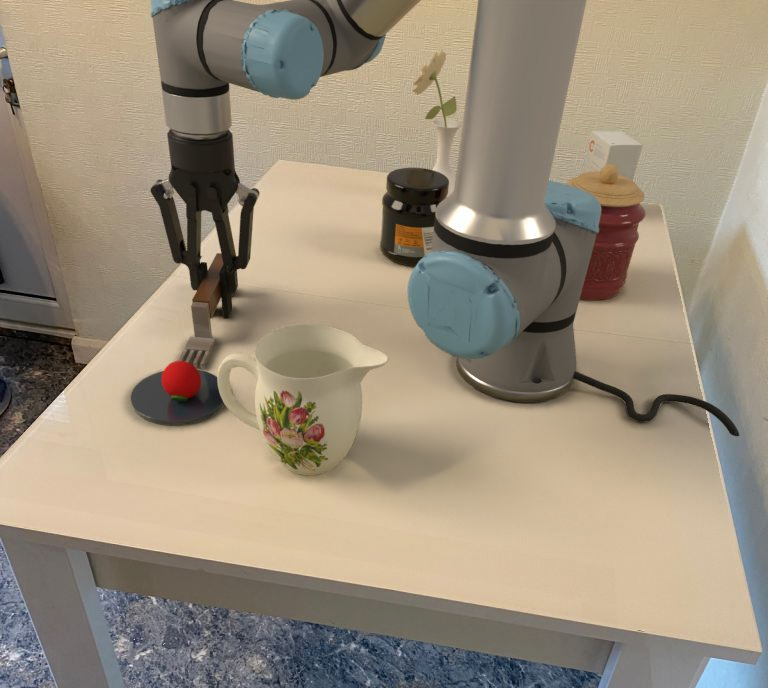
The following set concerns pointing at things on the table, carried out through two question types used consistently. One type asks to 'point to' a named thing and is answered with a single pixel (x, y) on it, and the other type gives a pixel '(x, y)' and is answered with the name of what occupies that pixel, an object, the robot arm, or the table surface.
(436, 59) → the flower in vase
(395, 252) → the supplement container
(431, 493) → the table surface
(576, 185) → the kitchen canister
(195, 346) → the fork
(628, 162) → the small box
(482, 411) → the table surface
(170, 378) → the tomato
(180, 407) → the plate
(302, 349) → the pitcher
